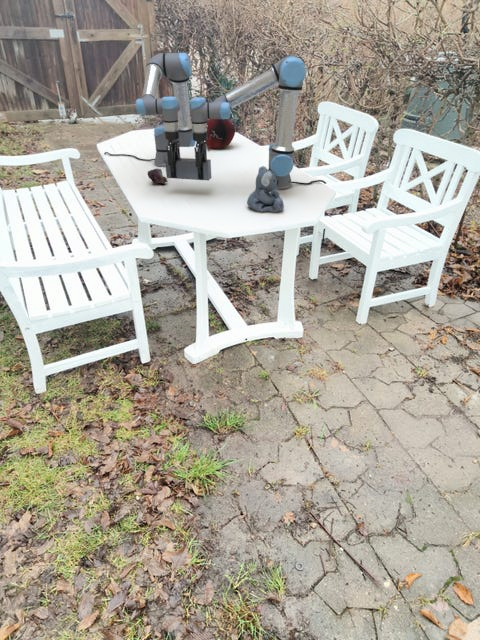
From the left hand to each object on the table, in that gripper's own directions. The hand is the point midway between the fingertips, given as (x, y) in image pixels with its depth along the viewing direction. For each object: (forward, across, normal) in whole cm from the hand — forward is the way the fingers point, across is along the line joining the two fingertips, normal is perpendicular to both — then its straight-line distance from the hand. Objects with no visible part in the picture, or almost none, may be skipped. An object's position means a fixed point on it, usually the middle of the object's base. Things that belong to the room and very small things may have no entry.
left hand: (175, 176), depth 243 cm
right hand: (0, 0, -15) cm, 15 cm away
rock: (+9, +12, +16) cm, 22 cm away
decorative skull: (+9, +102, +3) cm, 102 cm away
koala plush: (+9, -14, -52) cm, 54 cm away
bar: (+1, 0, -8) cm, 8 cm away
